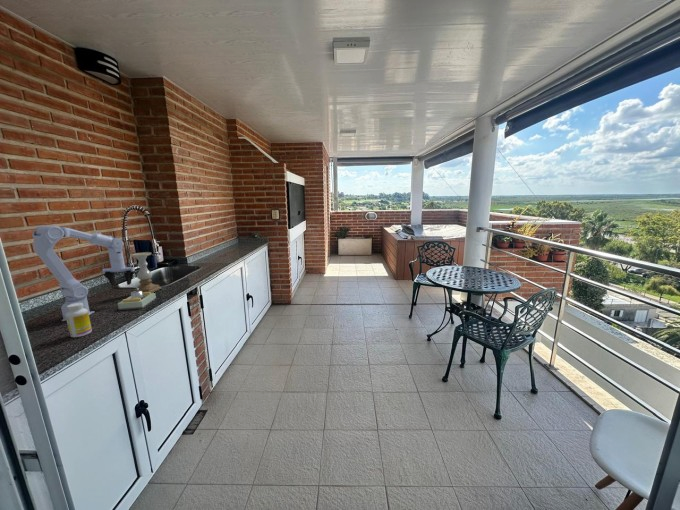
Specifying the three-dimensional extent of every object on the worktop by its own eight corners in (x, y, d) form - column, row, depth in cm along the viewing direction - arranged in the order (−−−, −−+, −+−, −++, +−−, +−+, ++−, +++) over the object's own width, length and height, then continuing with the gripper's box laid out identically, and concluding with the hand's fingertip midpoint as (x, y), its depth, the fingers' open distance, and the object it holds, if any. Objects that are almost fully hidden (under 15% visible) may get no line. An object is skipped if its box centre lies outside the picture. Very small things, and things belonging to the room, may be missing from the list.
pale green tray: (142, 308, 140) (141, 299, 139) (118, 310, 138) (117, 301, 137) (156, 299, 153) (154, 290, 152) (134, 300, 151) (132, 292, 150)
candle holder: (144, 289, 171) (138, 252, 167) (162, 289, 171) (156, 251, 167) (131, 295, 160) (124, 255, 156) (150, 295, 160) (143, 255, 156)
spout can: (141, 303, 144) (139, 290, 142) (130, 304, 143) (128, 291, 141) (145, 300, 148) (143, 287, 147) (135, 301, 147) (133, 288, 146)
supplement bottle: (96, 330, 116) (90, 301, 114) (82, 337, 109) (76, 307, 107) (80, 330, 116) (74, 302, 113) (65, 338, 109) (58, 308, 107)
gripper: (136, 258, 150) (140, 281, 152) (106, 259, 148) (111, 283, 150) (128, 260, 143) (133, 285, 145) (97, 262, 141) (102, 287, 143)
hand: (121, 284), depth 147 cm, fingers open, 7 cm apart
